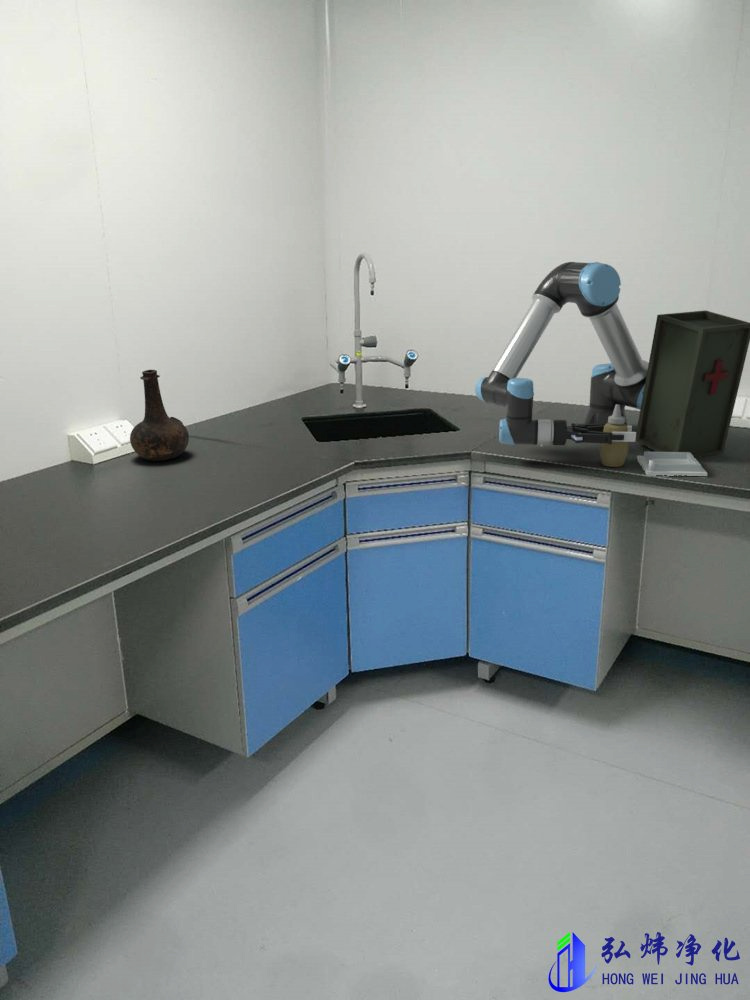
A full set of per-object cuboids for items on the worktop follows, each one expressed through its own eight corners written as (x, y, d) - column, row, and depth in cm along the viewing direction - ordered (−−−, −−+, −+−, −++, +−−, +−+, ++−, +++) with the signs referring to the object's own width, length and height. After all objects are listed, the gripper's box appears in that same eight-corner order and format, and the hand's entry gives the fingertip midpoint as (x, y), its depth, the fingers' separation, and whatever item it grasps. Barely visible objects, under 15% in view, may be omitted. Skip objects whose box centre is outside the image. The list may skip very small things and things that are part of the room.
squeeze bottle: (631, 464, 223) (637, 404, 217) (619, 470, 217) (624, 409, 211) (606, 459, 228) (611, 400, 222) (593, 465, 223) (598, 405, 217)
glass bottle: (201, 455, 242) (192, 368, 233) (153, 469, 230) (141, 377, 221) (169, 446, 254) (159, 363, 244) (122, 459, 241) (109, 371, 232)
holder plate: (637, 459, 227) (638, 446, 226) (693, 460, 225) (694, 447, 223) (647, 475, 212) (648, 461, 211) (706, 477, 210) (708, 462, 209)
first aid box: (675, 462, 226) (703, 328, 208) (634, 440, 241) (657, 314, 223) (723, 453, 232) (753, 323, 214) (680, 433, 247) (705, 310, 229)
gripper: (549, 436, 233) (627, 437, 229) (553, 454, 215) (638, 455, 211) (550, 412, 230) (629, 413, 227) (555, 428, 212) (640, 429, 209)
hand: (633, 433), depth 219 cm, fingers closed on squeeze bottle, 6 cm apart
